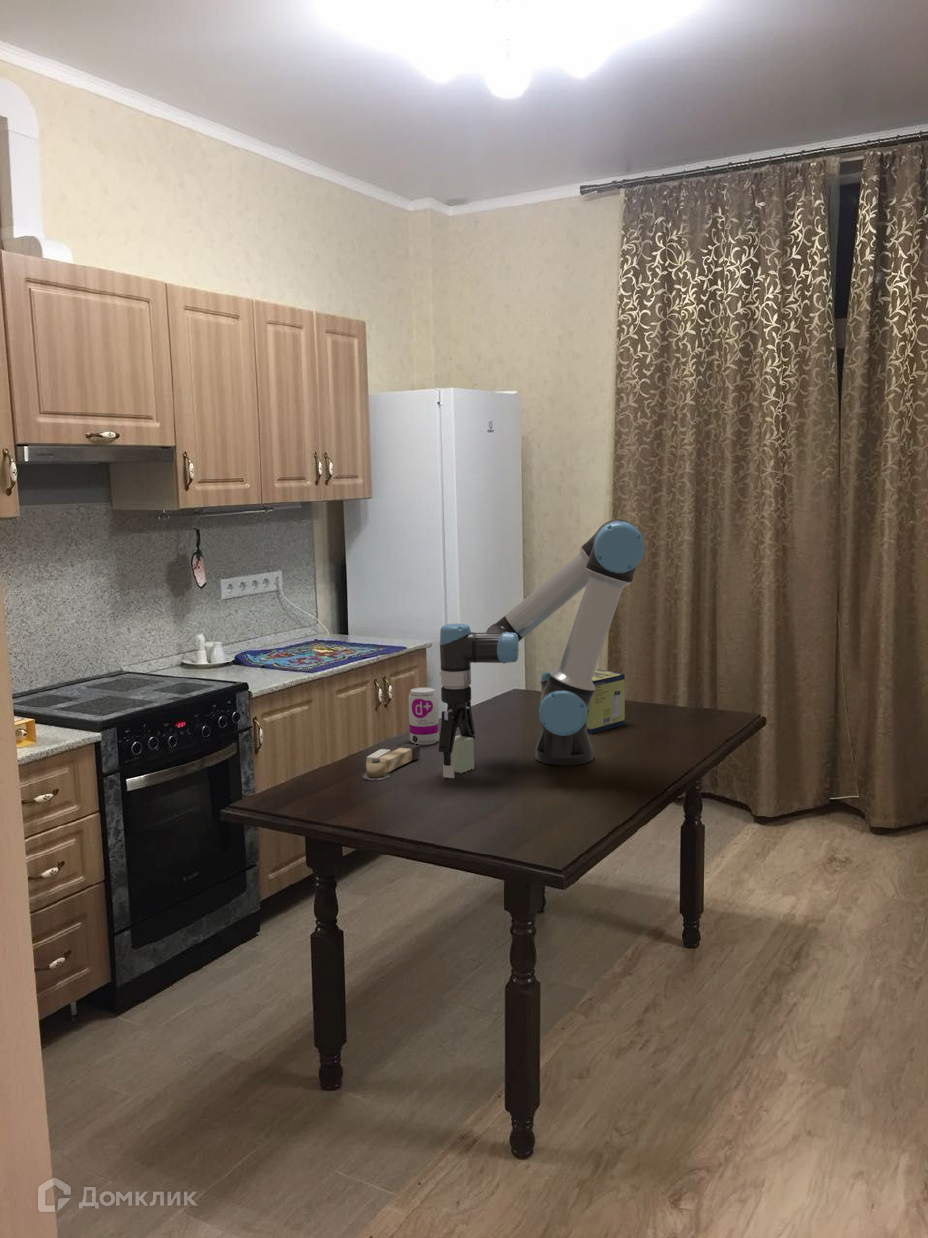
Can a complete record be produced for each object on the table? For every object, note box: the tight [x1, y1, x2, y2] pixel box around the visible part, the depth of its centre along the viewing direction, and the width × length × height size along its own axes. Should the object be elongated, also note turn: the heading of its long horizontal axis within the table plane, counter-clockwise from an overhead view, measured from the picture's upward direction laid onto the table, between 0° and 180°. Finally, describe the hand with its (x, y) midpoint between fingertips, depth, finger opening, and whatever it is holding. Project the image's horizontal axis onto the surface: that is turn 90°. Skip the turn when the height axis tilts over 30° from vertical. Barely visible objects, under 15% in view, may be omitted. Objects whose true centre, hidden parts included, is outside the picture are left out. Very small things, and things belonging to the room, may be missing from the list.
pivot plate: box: [362, 772, 392, 781], centre depth 261 cm, size 7×7×1 cm
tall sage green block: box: [452, 734, 475, 774], centre depth 266 cm, size 5×5×8 cm
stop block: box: [366, 748, 392, 762], centre depth 271 cm, size 3×8×3 cm, turn 158°
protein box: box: [586, 669, 626, 735], centre depth 305 cm, size 10×16×16 cm
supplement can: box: [408, 686, 440, 746], centre depth 292 cm, size 8×8×15 cm
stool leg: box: [365, 743, 421, 777], centre depth 268 cm, size 20×5×4 cm, turn 153°
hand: (457, 771), depth 264 cm, fingers open, 11 cm apart
